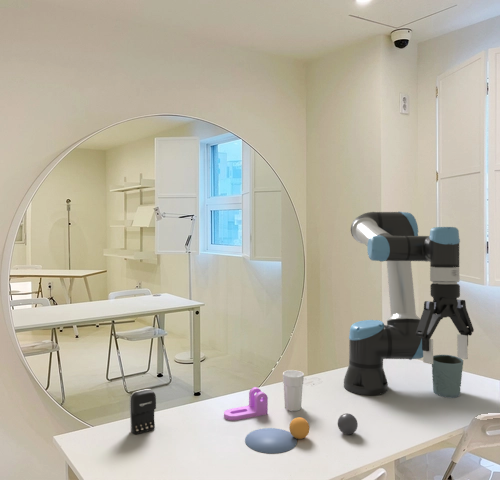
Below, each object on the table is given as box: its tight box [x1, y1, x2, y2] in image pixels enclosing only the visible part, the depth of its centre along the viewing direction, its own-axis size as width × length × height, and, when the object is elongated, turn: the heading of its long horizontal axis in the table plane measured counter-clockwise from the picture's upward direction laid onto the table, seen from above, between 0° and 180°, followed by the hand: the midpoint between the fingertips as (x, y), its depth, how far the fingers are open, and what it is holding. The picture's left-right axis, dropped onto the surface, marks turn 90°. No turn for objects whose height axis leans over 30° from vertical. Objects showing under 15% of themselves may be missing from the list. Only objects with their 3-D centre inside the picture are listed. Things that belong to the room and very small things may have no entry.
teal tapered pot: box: [431, 354, 464, 399], centre depth 164 cm, size 10×10×12 cm
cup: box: [282, 369, 305, 412], centre depth 152 cm, size 7×7×11 cm
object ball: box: [288, 416, 310, 440], centre depth 132 cm, size 6×6×6 cm
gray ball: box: [337, 413, 359, 435], centre depth 134 cm, size 6×6×6 cm
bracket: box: [223, 386, 269, 421], centre depth 147 cm, size 13×6×7 cm, turn 114°
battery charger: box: [129, 388, 157, 435], centre depth 135 cm, size 7×4×11 cm, turn 124°
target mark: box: [244, 427, 298, 454], centre depth 130 cm, size 14×14×1 cm
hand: (445, 360), depth 132 cm, fingers open, 13 cm apart
